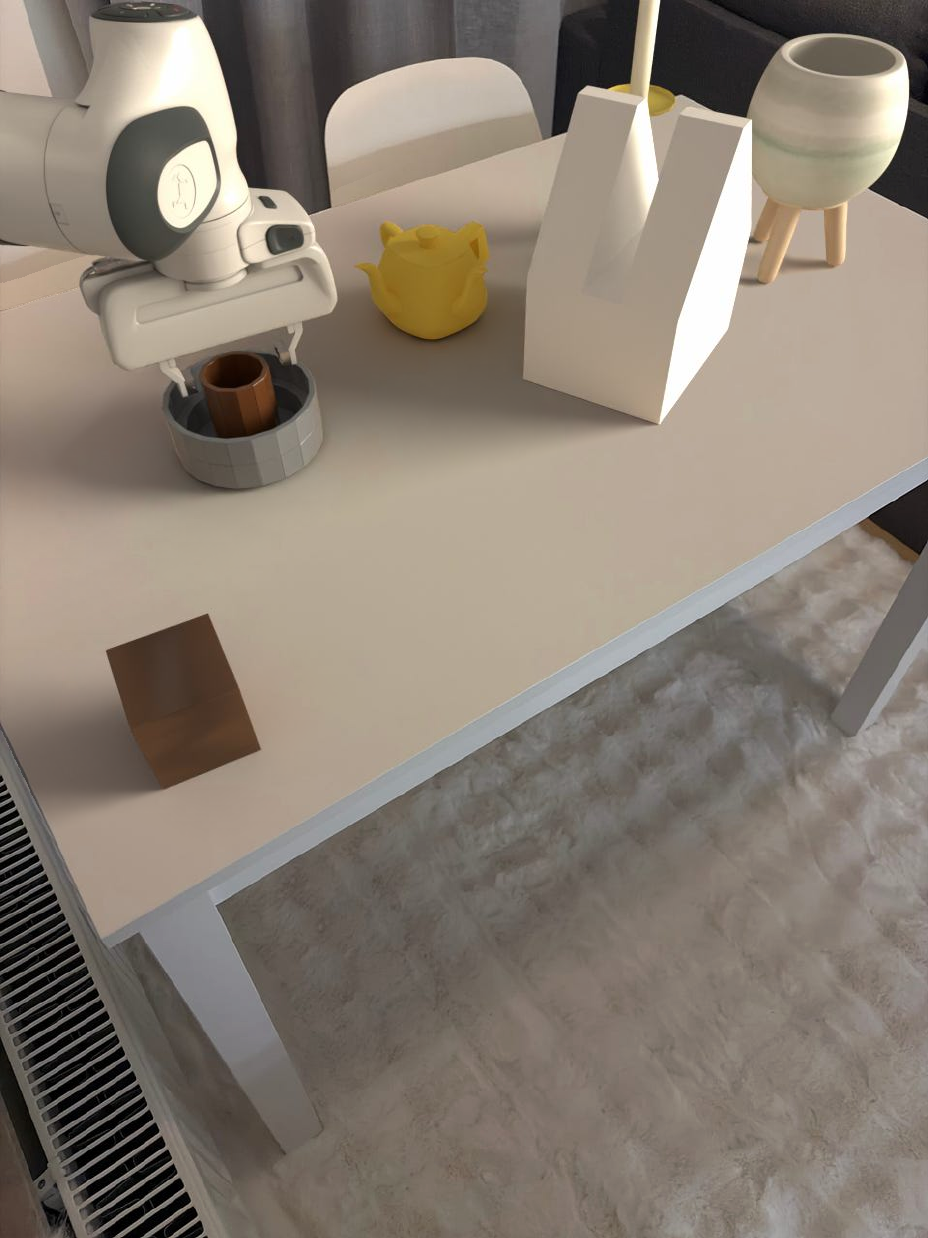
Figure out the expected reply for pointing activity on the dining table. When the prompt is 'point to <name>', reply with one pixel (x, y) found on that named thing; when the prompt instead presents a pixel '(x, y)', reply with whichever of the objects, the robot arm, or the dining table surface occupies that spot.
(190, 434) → the grey round tub
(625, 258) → the white v-notched block
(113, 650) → the stand
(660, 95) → the candle
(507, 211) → the dining table surface
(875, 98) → the planter
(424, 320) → the teapot
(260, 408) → the cup
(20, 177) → the robot arm
